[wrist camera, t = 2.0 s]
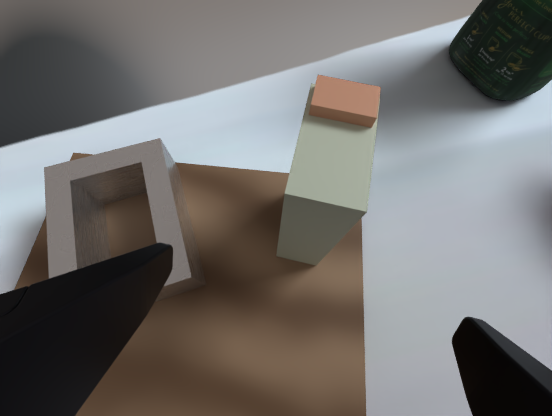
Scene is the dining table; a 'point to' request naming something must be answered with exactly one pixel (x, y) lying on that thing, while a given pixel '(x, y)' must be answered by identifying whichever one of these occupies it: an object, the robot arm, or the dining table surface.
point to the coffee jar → (506, 47)
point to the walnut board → (235, 312)
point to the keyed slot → (113, 187)
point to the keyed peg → (329, 168)
